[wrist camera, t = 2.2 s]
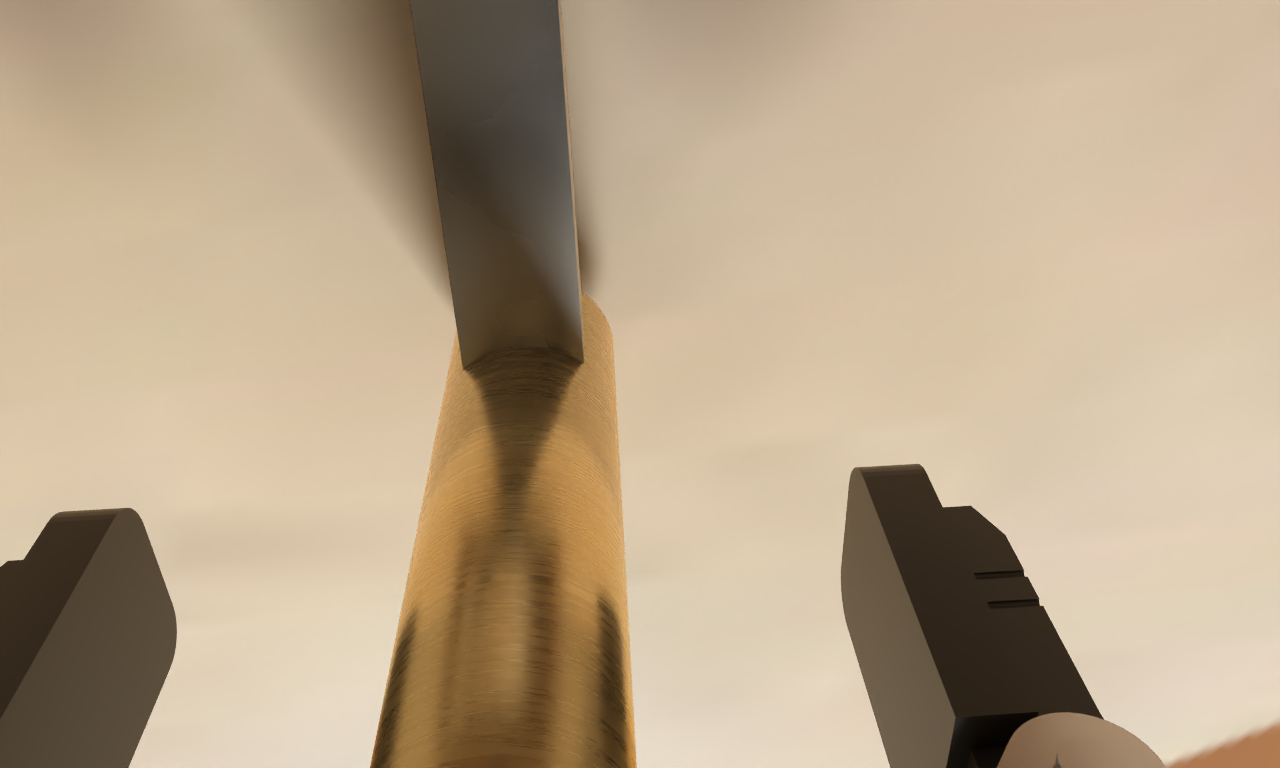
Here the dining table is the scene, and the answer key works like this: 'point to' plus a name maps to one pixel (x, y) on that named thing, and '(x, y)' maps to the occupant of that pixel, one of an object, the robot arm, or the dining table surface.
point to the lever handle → (512, 432)
